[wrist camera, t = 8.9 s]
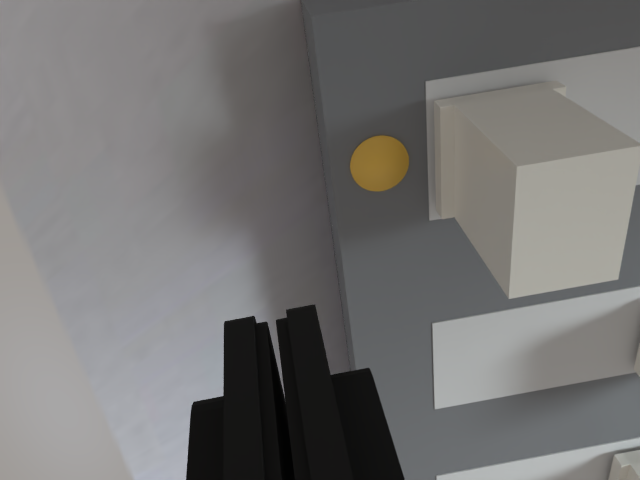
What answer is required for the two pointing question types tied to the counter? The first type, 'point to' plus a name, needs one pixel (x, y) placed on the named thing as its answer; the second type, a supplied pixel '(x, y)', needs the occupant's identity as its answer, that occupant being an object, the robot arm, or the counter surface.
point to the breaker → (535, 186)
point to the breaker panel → (456, 249)
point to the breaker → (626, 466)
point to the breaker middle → (637, 362)
